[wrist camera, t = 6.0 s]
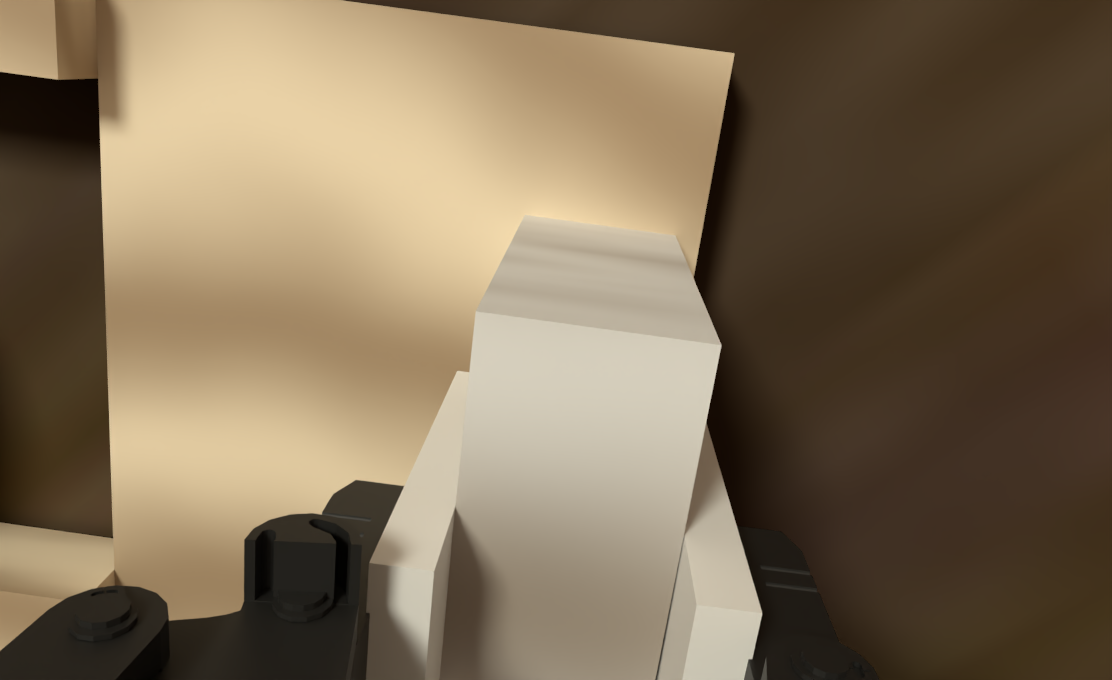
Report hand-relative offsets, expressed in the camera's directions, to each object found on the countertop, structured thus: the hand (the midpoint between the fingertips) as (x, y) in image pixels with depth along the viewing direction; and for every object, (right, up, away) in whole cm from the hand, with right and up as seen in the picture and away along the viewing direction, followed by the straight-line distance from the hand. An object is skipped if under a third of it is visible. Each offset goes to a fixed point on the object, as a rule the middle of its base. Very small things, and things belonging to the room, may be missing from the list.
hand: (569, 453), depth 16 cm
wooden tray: (-11, +3, +3) cm, 11 cm away
